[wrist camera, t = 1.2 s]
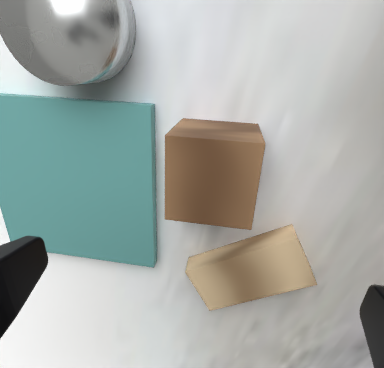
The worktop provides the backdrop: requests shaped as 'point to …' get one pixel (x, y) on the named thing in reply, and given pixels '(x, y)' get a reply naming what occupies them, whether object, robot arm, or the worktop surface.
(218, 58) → the worktop surface
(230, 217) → the walnut block
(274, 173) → the worktop surface
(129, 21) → the metal tin
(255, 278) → the beech slab
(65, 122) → the plate
